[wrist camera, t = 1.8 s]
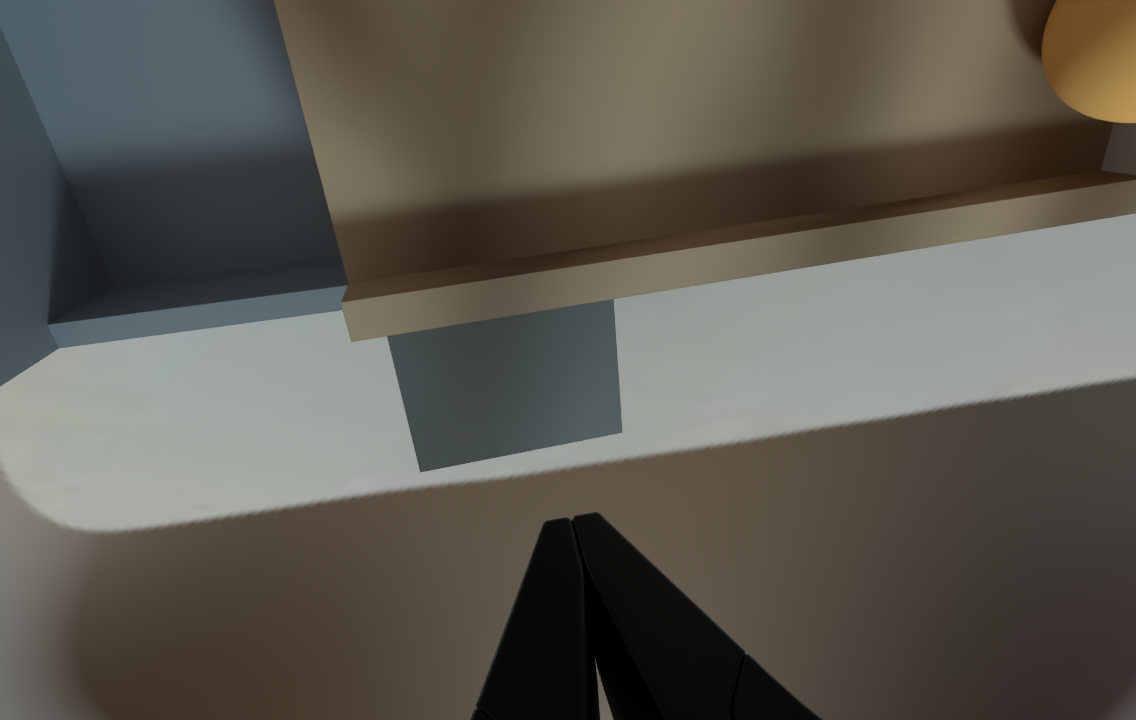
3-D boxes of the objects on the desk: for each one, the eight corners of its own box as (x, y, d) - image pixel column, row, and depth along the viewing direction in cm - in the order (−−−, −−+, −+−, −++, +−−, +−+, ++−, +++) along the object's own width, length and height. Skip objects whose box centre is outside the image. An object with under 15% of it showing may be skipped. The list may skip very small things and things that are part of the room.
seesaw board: (1303, -199, 13) (1743, -340, 9) (1135, 312, 18) (1361, 385, 14) (247, -145, 10) (104, -323, 6) (401, 453, 15) (389, 606, 11)
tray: (309, -104, 14) (220, -200, 9) (392, 266, 18) (361, 336, 13) (-56, -75, 14) (-359, -162, 9) (111, 302, 18) (-31, 391, 13)
